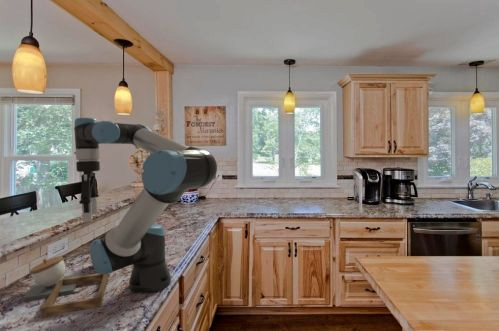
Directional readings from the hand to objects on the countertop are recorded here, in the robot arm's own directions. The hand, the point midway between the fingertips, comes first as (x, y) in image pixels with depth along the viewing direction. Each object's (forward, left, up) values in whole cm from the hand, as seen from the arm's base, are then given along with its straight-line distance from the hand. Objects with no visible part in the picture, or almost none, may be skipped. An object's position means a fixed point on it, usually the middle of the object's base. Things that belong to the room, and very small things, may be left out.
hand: (90, 217), depth 108 cm
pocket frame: (+4, +5, -27) cm, 27 cm away
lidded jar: (+14, -6, -24) cm, 29 cm away
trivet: (+14, -6, -27) cm, 31 cm away
